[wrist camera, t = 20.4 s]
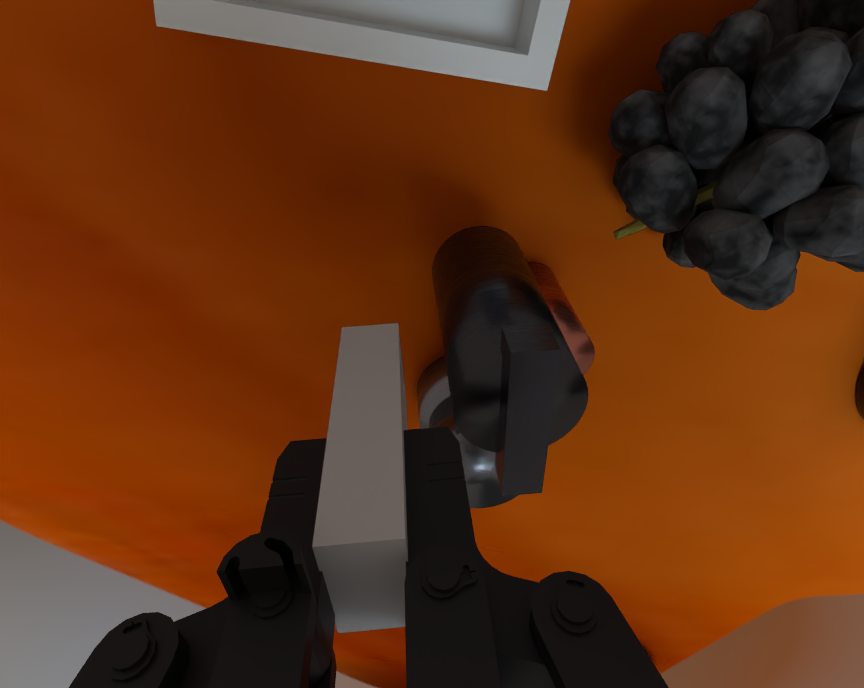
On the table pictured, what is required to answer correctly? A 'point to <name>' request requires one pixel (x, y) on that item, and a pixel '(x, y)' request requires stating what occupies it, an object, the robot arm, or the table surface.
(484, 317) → the crank
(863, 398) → the jar
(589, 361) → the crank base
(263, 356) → the table surface
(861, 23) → the fruit
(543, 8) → the tray
